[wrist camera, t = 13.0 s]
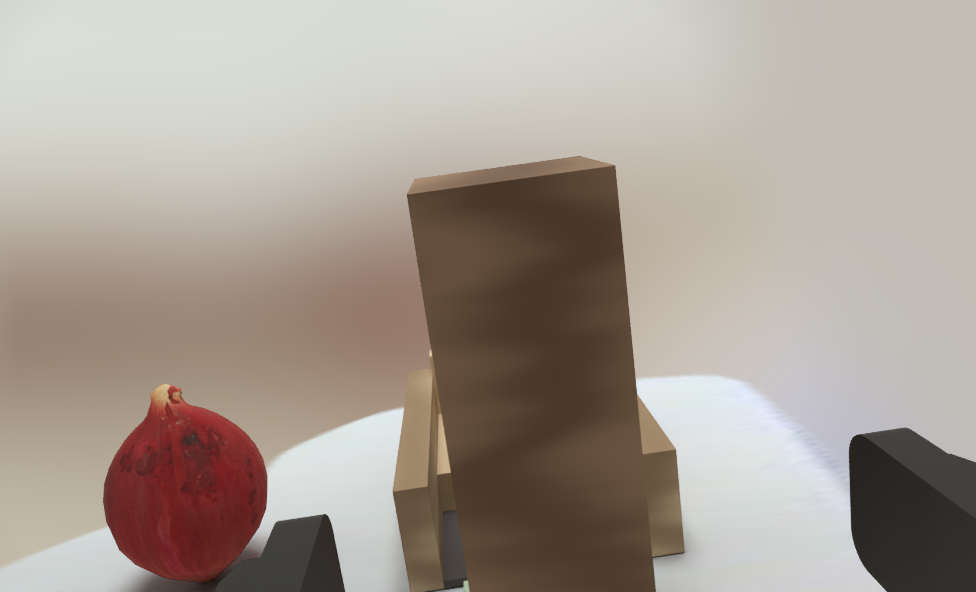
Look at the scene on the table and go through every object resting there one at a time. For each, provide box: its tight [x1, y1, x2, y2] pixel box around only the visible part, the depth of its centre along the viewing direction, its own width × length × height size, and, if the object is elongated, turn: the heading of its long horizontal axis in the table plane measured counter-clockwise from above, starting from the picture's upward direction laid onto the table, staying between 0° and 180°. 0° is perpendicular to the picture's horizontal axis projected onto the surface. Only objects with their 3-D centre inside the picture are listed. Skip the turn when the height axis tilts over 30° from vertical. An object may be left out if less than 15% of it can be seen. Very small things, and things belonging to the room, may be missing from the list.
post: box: [407, 156, 656, 592], centre depth 22 cm, size 5×5×14 cm
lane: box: [393, 350, 685, 592], centre depth 33 cm, size 10×13×5 cm
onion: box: [103, 384, 267, 583], centre depth 29 cm, size 6×6×8 cm
